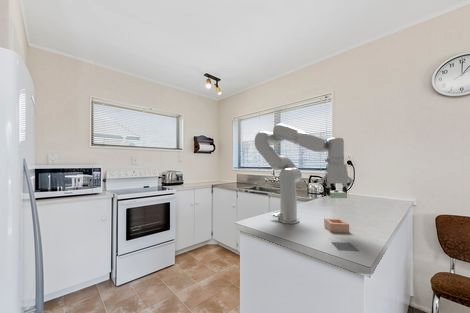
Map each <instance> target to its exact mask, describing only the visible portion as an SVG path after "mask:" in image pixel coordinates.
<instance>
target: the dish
mask: <svg viewBox="0 0 470 313" xmlns="http://www.w3.org/2000/svg"><path fill="white" fill-rule="evenodd" d="M323 226H324V228H325V229H326V230H328V231H329V233H346V234H347V233H350V223H348V222H347V221H345V220H344V219H342V218H323Z"/></svg>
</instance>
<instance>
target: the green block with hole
mask: <svg viewBox="0 0 470 313" xmlns="http://www.w3.org/2000/svg"><path fill="white" fill-rule="evenodd" d="M325 195H326V196H327V197H329V198H330V199H347V198H348V192H347V193H346V192H343V191H342V190H337V189H335V190H330V196H328V195H327V194H326V193H325Z"/></svg>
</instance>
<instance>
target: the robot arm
mask: <svg viewBox="0 0 470 313" xmlns="http://www.w3.org/2000/svg"><path fill="white" fill-rule="evenodd" d="M283 141H288V142H289V143H292V144H295V145H297V146H300V147H302V148H305V149H306V150H310V151H313V152H316V153H327V158H326V159H325V160H324V162H325V163H326V165H325V166H326V167H325V173H324V176H322V177H321V178H320V179H319V182H320V183H321V184H322V186H324V188H325V195H326V194H327V195H328V196H327V197H329V196H330V191H331V189H330V186H331V184H341V185H342V188H341V189H342V190H341V191H343V192H346V193H347V194H348V188H349V187H350V186H351V184H352V183H354V181H353V179H352V178H351V177H349V175H348V174H349V173H348V167H347V164H345V144H344V143H345V142H344V138H343V137H330V138H328V139H326V138H322V137H318V136H316V135H312V134H309V133H307V132H304V131H303V130H301V129H298V128H295V127H293V126H289V125H286V124H284V123H278V124H276V125H274V127H273V128H272V132H270V131H265V130H262V131H259V132H257V133H256V134H255V137H254V146H255V149H256V150H257V151H258V153H259V154H260V155H261V156H262V157H263V159H264V160H265V161H266V163H268V165H269V166H270V168H271V169H272V170H275V171H280V172H279V175H278V180H279V189H280V193H279V194H280V195H279V196H280V208H279V210H280V211H279V212H277V213H274V212H273V213H272V217H273V218H277V221H278V222H279V223H283V224H287V225H290V224H291V225H294V224H298V223H300V218H299V217H298V216H297V215H298V210H297V209H298V204H297V203H298V202H297V201H298V199H297V198H298V196H297V195H298V193H297V185H296V184H297V183H298V182H299V181H301V179H302V177H303V176H302V172H301V170H300V169H299V168H298V166H297V165H296V164H295V163H294V162H293V161H292V160H291V159H290V158H289V157H288V156H286V155H280V154H279V153H277V151H276V150H275V149H274V148H273V147H272V145H277V144H279V143H280V142H283Z"/></svg>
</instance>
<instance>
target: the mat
mask: <svg viewBox="0 0 470 313" xmlns="http://www.w3.org/2000/svg"><path fill="white" fill-rule="evenodd" d="M330 243H331V244H332V245H333V247H335V248H336V249H337V251H341V252H342V251H344V252H345V251H346V252H349V251H350V252H360V250H359V249H358V248H357V247H356V246H355V245H353V243H351V242H342V241H341V242H339V241H338V242H337V241H331V242H330Z"/></svg>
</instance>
